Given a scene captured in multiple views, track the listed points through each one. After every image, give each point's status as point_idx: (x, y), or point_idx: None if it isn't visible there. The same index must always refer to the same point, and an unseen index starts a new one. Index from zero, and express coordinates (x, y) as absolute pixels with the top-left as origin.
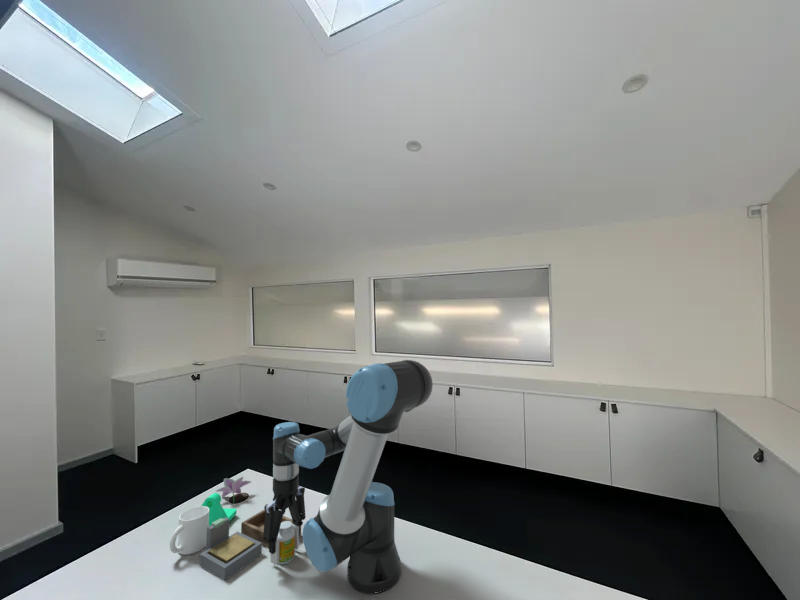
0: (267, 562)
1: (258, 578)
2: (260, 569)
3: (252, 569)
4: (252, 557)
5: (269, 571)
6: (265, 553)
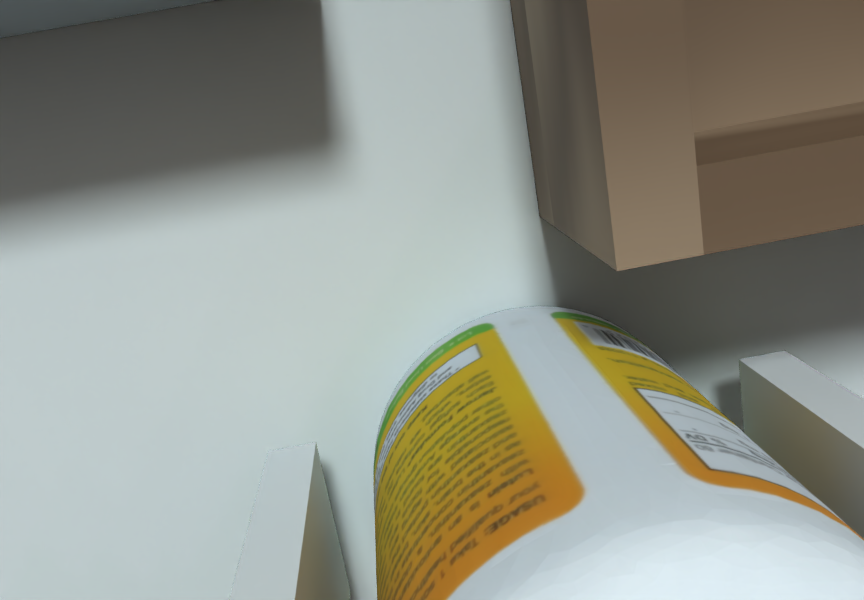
0: (280, 306)
1: (4, 536)
2: (113, 374)
3: (5, 264)
4: (77, 14)
5: (202, 525)
6: (377, 33)
